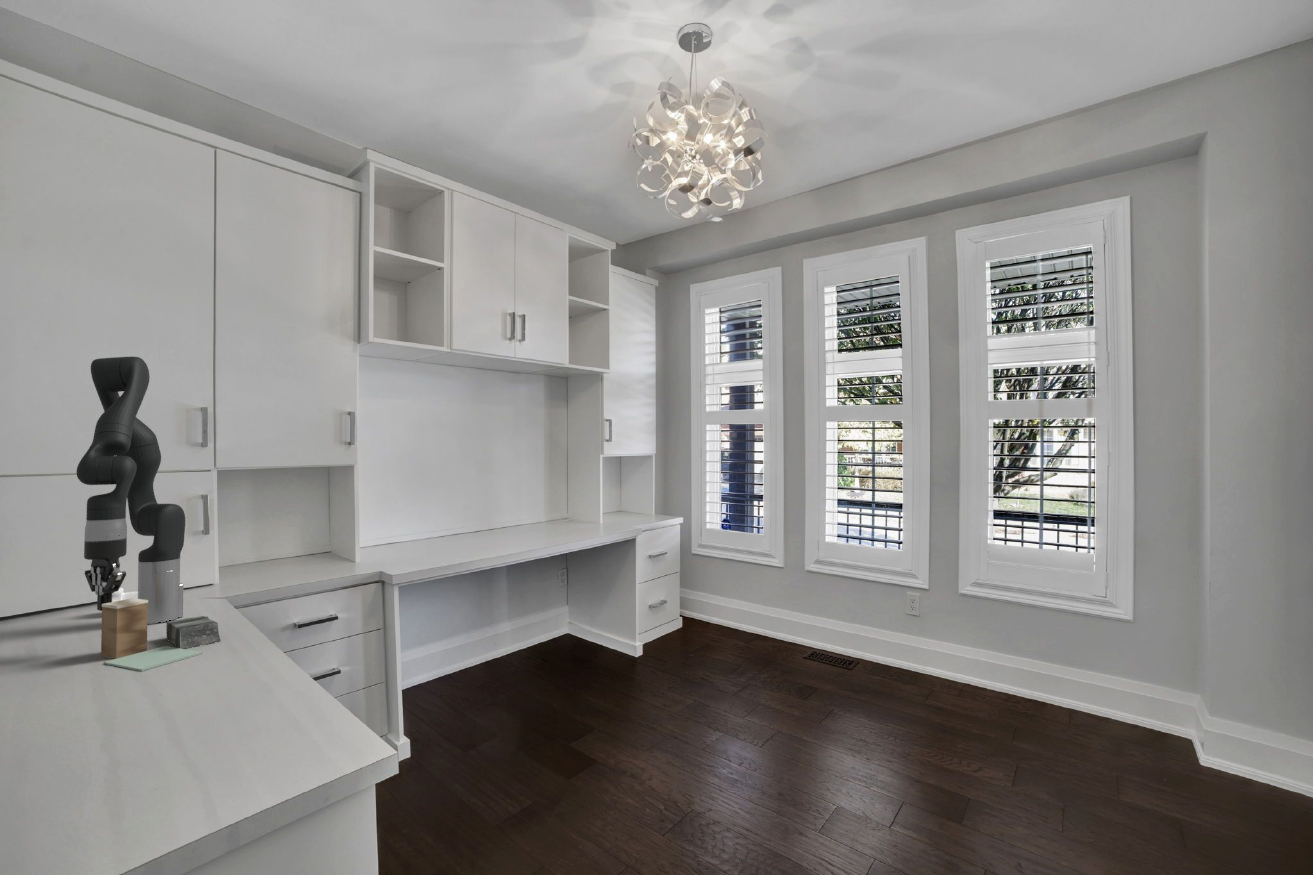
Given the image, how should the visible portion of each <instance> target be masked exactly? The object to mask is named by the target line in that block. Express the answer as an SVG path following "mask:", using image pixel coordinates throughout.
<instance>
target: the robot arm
mask: <svg viewBox="0 0 1313 875" xmlns="http://www.w3.org/2000/svg"><path fill="white" fill-rule="evenodd" d="M148 367H149V366H148V364H147V363H146V361H145V360H144V359H143V358H142V357H139V356H117V357H101V358H96V359H93V360H92V362H91V363H90V375H91V379H92V381H93V385H94V387H95V390H96V393H97V396H98V398H99V401H100V403H101V406H102V409H103V411H104V412H103V413H101V415H100V417H99V418H97V421H96V424H95V429H94V434H93V439H92V442H91V444H90V446H89V448H88V449H87V451H86V452H85V453H84V455H83V456H82V458H81V459H80V461H79V463H78V465H77V467H76V473H75V474H76V477H77V479H78V480H79V482H81V483H82V484H84V485H87V486H103V485H105V486H106V485H107V486H108V485H115V487H114V489H113V490H112V491H110V492H107V493H102V494H96V495H91V496H89V498H88V499H87V501H86V516H85V517H86V518H85V519H86V520H85V521H86V522H85V526H84V541H83V542H84V545H83V546H84V547H83V548H84V549H83V552H84V553H83V558H84V559H85V560H87V561H88V560H91V563H90V569H88V570H85V571H84V576H85V580H86V581H87V583H88V586H89V589H90V591H91V592H94V594H95V595H96V596H97V599H96V600H97V601H96V602H97V603H96V606H97V607H96V609H97V611H100V612H102V604H105V603H110V602H112V593H114V592H116V591H118V590H119V588H120V587H121V586H122V584H123V582H124V580H125V578H126V577H127V571H125V570H123V571H121V570H120V569H121V568H120V567H121V563H120V558H122V557H125V556H126V555H127V549H128V548H127V546H128V545H127V540H128V539H127V538H128V524H127V519H126V517H127V508H128V512H129V513H128V514H129V520H130V524H131V527H132V529H133V531H134V532H135V533H137V534H138V535H139V536H143V537H153V542H152V544H151V545H150V546H149V547H147V548H145V549H142V550H141V551H139V552H138V555H137V556H138V557H137V560H138V561H137V563H138V564H137V591H138V599H143V600H148V617H147V625H153V624H159V623H158V622H161V623H167V622H169V620H171V621H175V620H178V619H179V618H183V617H184V584H183V583H181V552H182V550H183V548H184V545H185V532H186V514H185V511H184V510H183V507H182V506H180V505H178V504H176V503H158V501H157V499H156V495H155V492H154V491H155V490H154V482H155V478H156V475H157V473H158V471H159V468H160V465H161V464H162V462H161V461H162V454H161V453H162V452H161V449H160V445H159V442H158V438H157V435H156V434H155V432H154V431H153V430H152V429H151V428H150V427H149V426H148V425H146V424H145V423H144V422H143V421H142V420H140V419H139V418H138V417H137V415H138V412H139V410H140V407H141V405H142V402H143V400H144V397H145V395H146V392H147V390H148V387H149V384H150V379H151V378H150V370H149V368H148ZM119 392H122V394H120V393H119ZM127 506H128V507H127ZM178 617H179V618H178ZM166 621H167V622H166Z"/></svg>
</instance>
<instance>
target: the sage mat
mask: <svg viewBox="0 0 1313 875" xmlns="http://www.w3.org/2000/svg"><path fill="white" fill-rule="evenodd" d="M202 654H203V651H199V650H192V649H181V648H177V647H176V646H175V647H174V646H168V645H163V646H160V647H156V648H152V649H147V651H144V652H140V653H136V654H132V655H129V656H125V657H121V658H117V659H114V658H113V659H111V660H106V661H104V662H103V664H104V665H109V666H114V667H118V668H123V669H128V670H133V671H139V672H143V671H144V672H146V671H148V670H151V669H155V668H158V667H162V666H165V665H169V664H172V663H176V662H179V661H182V660H185V659H190V658H193V657H196V656H199V655H202Z"/></svg>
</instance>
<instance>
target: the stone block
mask: <svg viewBox="0 0 1313 875" xmlns="http://www.w3.org/2000/svg"><path fill="white" fill-rule="evenodd" d="M165 629H166V640H167V641H168V640H169V641H170V642H169V641H168V642H169V643H171V644H173V645H174V646H175V648H181V649H187V650H189V649H193V648H197V647H201V646H200V645H202V646H206V645H209V644H211V643H214V644H216V643H215V642H217V643H220V642H221V635H220V634H219V632H220V631H219V624H218V622H217V621H215V620H212V619H210V618H209V616H205V615H201V616H195V617H186V618H183V619H182V618H181V619H174V620H171V621H167V622H166V628H165ZM205 644H206V645H205ZM192 647H193V648H192Z"/></svg>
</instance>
